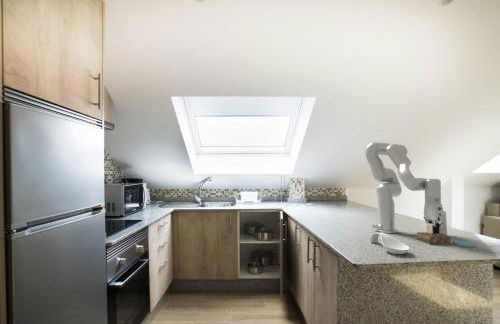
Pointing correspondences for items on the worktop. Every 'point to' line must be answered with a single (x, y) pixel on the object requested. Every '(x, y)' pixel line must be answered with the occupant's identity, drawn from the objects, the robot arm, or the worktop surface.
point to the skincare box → (443, 226)
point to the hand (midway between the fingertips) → (433, 232)
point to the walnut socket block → (433, 238)
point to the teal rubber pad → (464, 244)
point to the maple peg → (431, 229)
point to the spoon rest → (390, 243)
